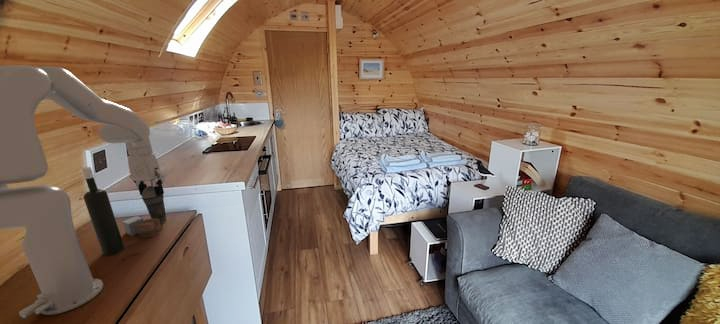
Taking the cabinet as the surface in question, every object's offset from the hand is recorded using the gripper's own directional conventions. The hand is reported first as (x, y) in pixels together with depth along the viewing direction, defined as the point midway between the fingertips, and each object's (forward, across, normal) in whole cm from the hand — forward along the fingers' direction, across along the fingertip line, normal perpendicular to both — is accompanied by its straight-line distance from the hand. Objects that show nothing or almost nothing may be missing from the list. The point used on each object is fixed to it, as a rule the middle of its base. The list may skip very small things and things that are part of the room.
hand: (152, 194), depth 118 cm
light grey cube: (+12, -3, -8) cm, 15 cm away
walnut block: (+12, +5, -9) cm, 16 cm away
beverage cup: (+12, 0, 0) cm, 12 cm away
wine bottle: (+12, +2, -21) cm, 24 cm away
